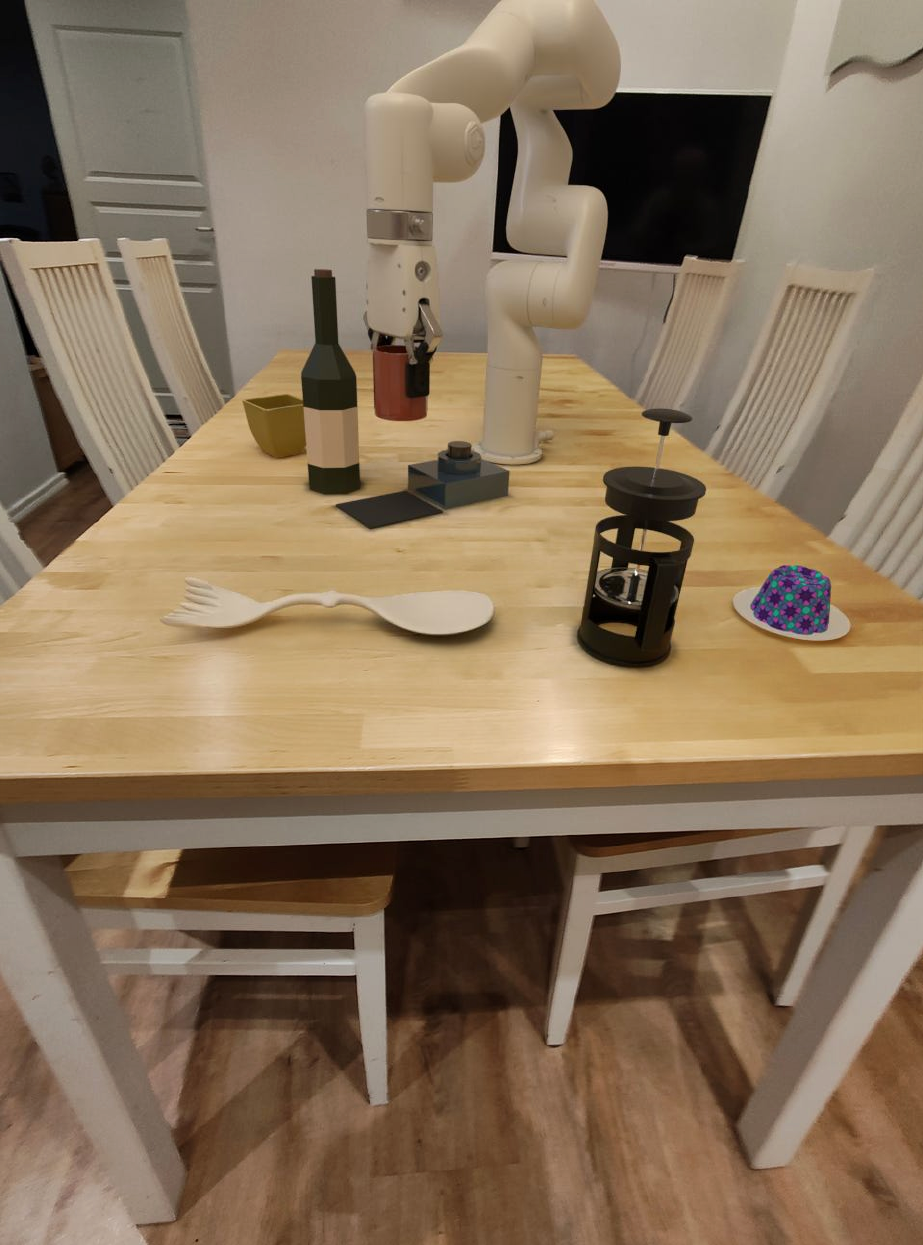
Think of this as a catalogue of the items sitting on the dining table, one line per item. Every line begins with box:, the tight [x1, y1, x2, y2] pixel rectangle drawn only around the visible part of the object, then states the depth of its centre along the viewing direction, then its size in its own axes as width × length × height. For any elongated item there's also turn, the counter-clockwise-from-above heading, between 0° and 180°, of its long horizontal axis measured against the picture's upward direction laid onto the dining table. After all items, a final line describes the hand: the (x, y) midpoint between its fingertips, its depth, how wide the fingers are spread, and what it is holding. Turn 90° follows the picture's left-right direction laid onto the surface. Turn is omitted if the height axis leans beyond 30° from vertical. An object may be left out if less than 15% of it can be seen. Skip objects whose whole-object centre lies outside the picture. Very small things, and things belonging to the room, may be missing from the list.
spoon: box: [159, 576, 496, 636], centre depth 68 cm, size 9×32×4 cm, turn 94°
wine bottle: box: [300, 268, 361, 496], centre depth 98 cm, size 8×8×30 cm
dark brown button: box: [447, 440, 473, 459], centre depth 102 cm, size 4×4×2 cm
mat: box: [335, 490, 444, 530], centre depth 98 cm, size 12×10×1 cm
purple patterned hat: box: [732, 564, 851, 641], centre depth 73 cm, size 12×12×5 cm
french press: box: [576, 407, 707, 669], centre depth 62 cm, size 12×9×23 cm
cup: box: [372, 344, 429, 422], centre depth 86 cm, size 7×7×8 cm
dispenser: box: [407, 449, 511, 511], centre depth 104 cm, size 12×10×6 cm
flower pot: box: [241, 393, 306, 459], centre depth 117 cm, size 9×9×9 cm
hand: (400, 389), depth 87 cm, fingers closed on cup, 6 cm apart
